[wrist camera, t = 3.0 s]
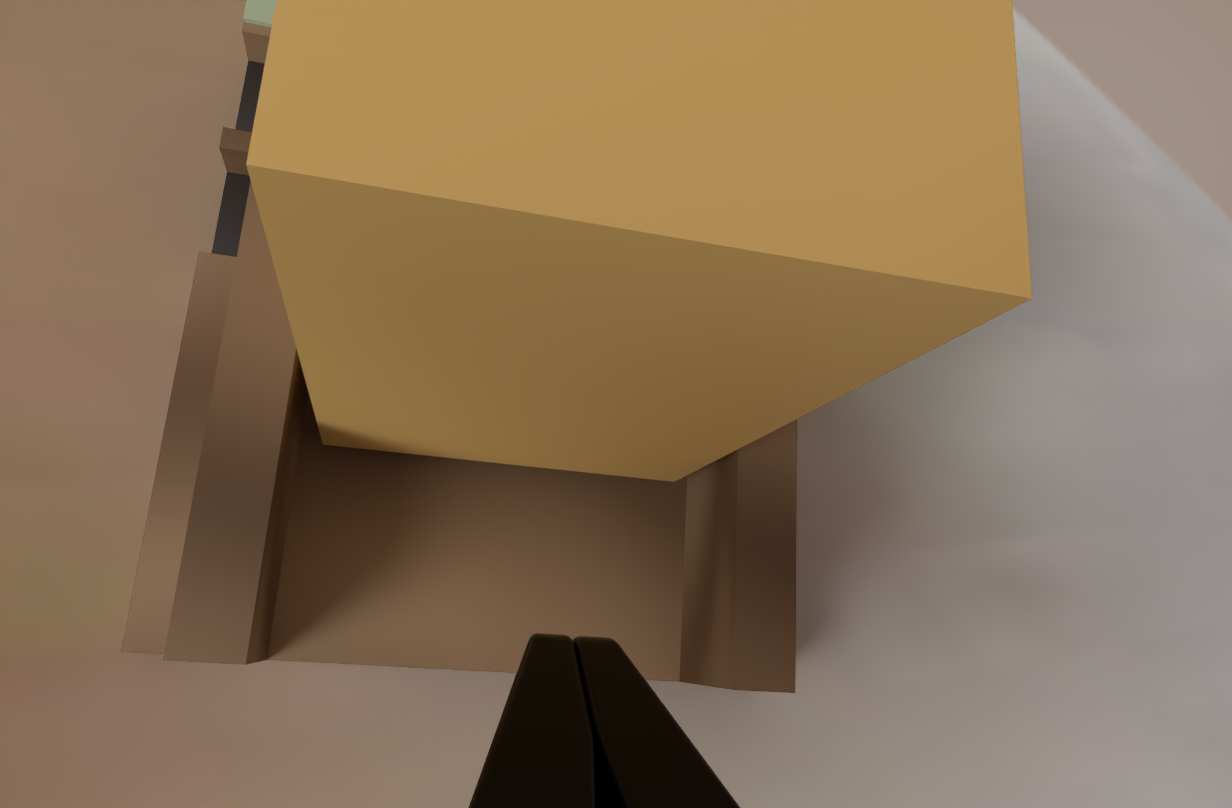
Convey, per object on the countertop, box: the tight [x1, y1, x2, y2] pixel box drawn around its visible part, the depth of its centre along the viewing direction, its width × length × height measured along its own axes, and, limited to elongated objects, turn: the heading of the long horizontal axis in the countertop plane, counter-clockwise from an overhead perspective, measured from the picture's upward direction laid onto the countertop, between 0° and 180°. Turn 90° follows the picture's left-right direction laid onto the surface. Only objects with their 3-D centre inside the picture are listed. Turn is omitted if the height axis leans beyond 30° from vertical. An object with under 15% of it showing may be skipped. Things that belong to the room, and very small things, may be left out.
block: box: [246, 0, 1032, 482], centre depth 11 cm, size 3×6×9 cm, turn 86°
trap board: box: [121, 0, 797, 693], centre depth 17 cm, size 17×11×4 cm, turn 176°
